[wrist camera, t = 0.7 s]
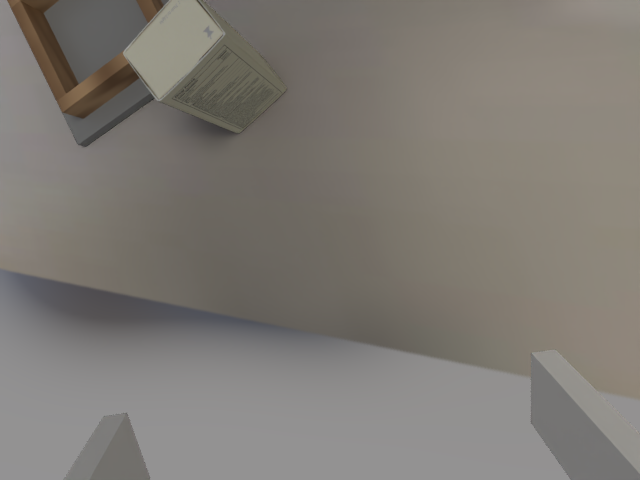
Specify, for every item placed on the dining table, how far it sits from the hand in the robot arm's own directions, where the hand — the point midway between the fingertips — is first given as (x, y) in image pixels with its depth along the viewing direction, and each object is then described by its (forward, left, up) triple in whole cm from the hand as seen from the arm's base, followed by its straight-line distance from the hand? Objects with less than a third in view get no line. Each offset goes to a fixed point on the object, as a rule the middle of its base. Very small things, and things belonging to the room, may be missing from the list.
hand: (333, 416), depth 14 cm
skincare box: (+3, -21, -23) cm, 32 cm away
